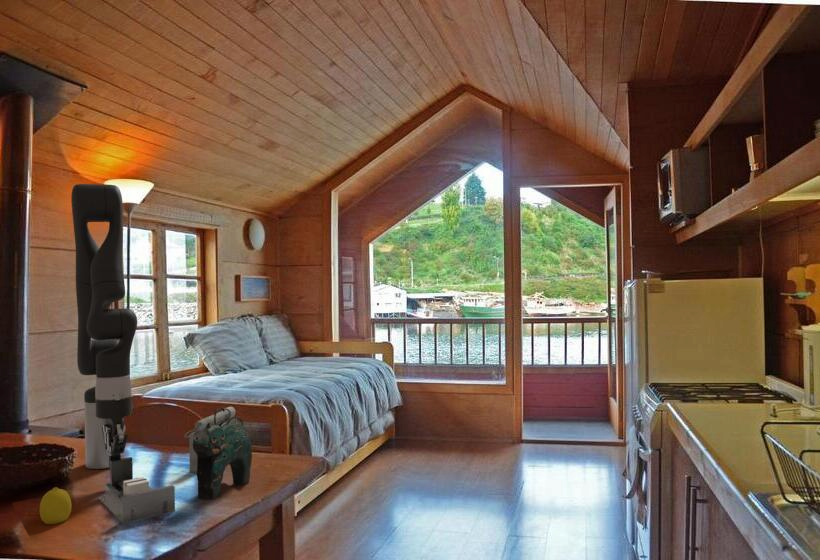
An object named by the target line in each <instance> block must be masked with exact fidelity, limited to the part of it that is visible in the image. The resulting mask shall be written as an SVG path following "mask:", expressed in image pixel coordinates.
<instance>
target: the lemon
mask: <svg viewBox="0 0 820 560" xmlns="http://www.w3.org/2000/svg"><path fill="white" fill-rule="evenodd" d="M39 504H40V505H39V516H40V519H41V521H42V522H43V523H44V524H45V525H56V524H60V523H64V522H65V521H67V520H68V518H69V517H70V515H71V512H72V506H73V505H72V504H73V503H72V499H71V497H70V494H69V493H68V492H67V491H66V490H65V489H62V488H58V487H56V486H55V487H53V488H52V489H50V490H48V491H47V492H46V493H45V494H44V495H43V496H42V498H41V500H40V503H39Z"/></svg>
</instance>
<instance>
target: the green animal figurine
mask: <svg viewBox="0 0 820 560" xmlns="http://www.w3.org/2000/svg"><path fill="white" fill-rule="evenodd" d="M220 410H221V411H222V410H223V412H224V411H225V407H223V406H221V407H217V408H216V410H215V411H214V413H213V415H214V423H215V425H209V423H208V424H207V425H202V426H200V427H198V428H197V430H195V431H194V432H195V433H194V437H193V449H194V451H195V452H196V454H197V472H196V479H197V497H198V499H200V500H212V501H213V500H215V499H216V498H218V497H220V495H221V487H222V485H221V484H222V481H223V477H224V472H225V470H226V468H227V467H228V465H229V466H230V470H231V473H232V474H231V476H232V484H233V485H241V486H242V485H246V484H248V483H249V482H250V477H251V467H252V458H253V449H252V446H253V445H252V441H251V438H250V433H249V432H248V429H247V427H246V426H244V421H243V418H241V417H240V416H234V417H232V418H230V419H229V420H228V421H227V422H226V423H224V422H221V423H219V424H217V425H216V414H217V413H219V412H218V411H220ZM232 419H237V420H239V421H240V423H238V422H237V423H229V422H230V421H231V420H232ZM223 423H224V424H223Z"/></svg>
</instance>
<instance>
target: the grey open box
mask: <svg viewBox="0 0 820 560" xmlns="http://www.w3.org/2000/svg"><path fill="white" fill-rule="evenodd" d="M136 478H137V477H135V478H134V477H133V479H136ZM175 487H176V486H174V485H173V484H171V485H167V486H163V487H158V488H152V487H151V486H149V490H148V491H143V492H138V493H134V494H129V495H124V496H123V495H122V494H121V493H120V492H119V491H118V490H117V489H115V488H114V487H113V486H112V485H111V484H110V483H109V482H108V483H105V484H104V495H103V496H97V498H98V499H99V501H101V503H102V504H103V505H104V506H105V507H106V508H107V509H108V510H109V511H110V512H111V513H112V514H113V515H114V516H115V518H116V519H118V521H120V522H121V524H122V525H124V524H127V523H128V524H129V523H132V522H136V521H140V520H143V519H149V518H154V517H156V516H161V515H165V514H169V513H173V512H174V513H175V512H176V503H175V502H176V497H175V496H176V494H175V493H176V492H175V490H176V488H175Z"/></svg>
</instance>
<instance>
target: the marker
mask: <svg viewBox="0 0 820 560" xmlns="http://www.w3.org/2000/svg"><path fill="white" fill-rule="evenodd" d="M135 478H136V479H134V478H133V479H131V480H127V481H123V494H124V495H129V494H134V493H138V492H143V491H148V490H149V487H150V485H149V484H150V482H149V480H147V478H145V477H135Z"/></svg>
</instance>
